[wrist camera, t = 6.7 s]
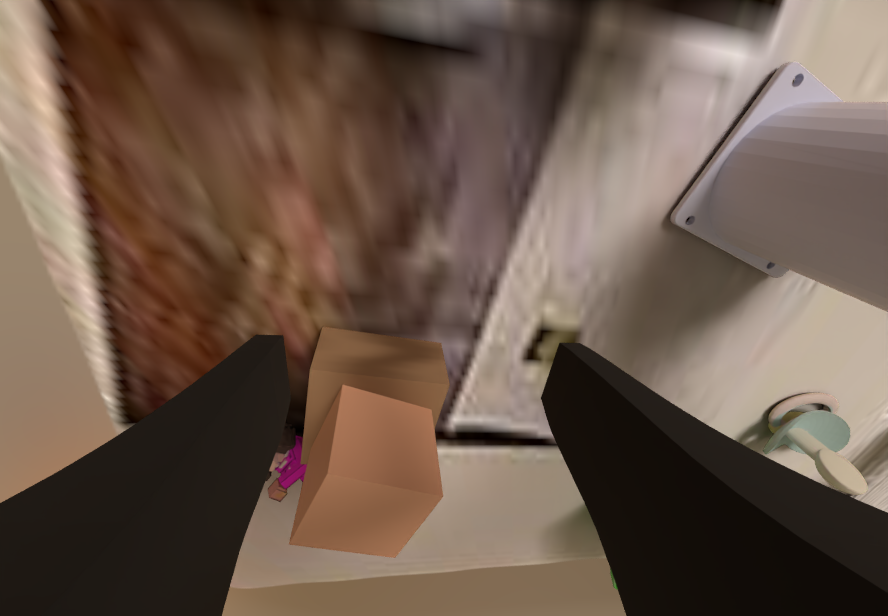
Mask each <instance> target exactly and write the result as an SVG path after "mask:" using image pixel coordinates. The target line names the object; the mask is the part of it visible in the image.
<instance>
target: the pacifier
mask: <svg viewBox="0 0 888 616" xmlns="http://www.w3.org/2000/svg"><path fill="white" fill-rule="evenodd" d="M810 403H820V404H823V405H824V407H823V410H813V411H809V412H806V413H802V412H789V411H790V410H792V409H794V408H796V407H798V406H802V405H805V404H810ZM838 408H839V404H838V401H837V400H836V399H835V398H834V397H833V396H831V395H828V394H824V393H807V394H801V395H797V396H794V397H791V398H789V399H787V400H784V401H783V402H781V403H780V404H778V405H777V406H776V407H775V408H774V409H773V410H772V411H771V413H770V414H769V418H768V420H769V425H768V427H769V429H770V430H771V431H772V432H773V433H774V435H773V436H772V437H771V438H770V440H769V441H768V443H767V444H766V446H765V448H764V450H763V452H764V453H765V454H768V453H770V452H771V451H773V450H775V449H776V448H778V447H780V446H781V445H784V444H785V445H787V446H788V447H789V448H790V449H792V450H794V451H796V452H799V453H803V454H807V455H809V456H810V457H811V458H812V459H813V460H815V465H816V468H817V470H818V472H819V473H820V475H821V476H822V477H823V478H824V479H825V480H826V481H827V482H828V483H829V484H830V485H832V486H833V487H835V488H836V489H838V490H840V491H842V492H845V493H848V494H854V495H860V494H864V493H866V492H867V490H868V486H867V483H866V481H865V479H864V477H863V476H862V475H861V473H860V472H859V471H858V470H857V469H856V468H855V467H854V466H853V465H852V464H851V463H850V462H849V461H848V460H847V459H845V458H844V457H843V456H841V455H840V454H838V453H836V452H837V451H840V450H841V449H843V448H844V447H845V446H846V445H847V443H848V442H849V438H850V428H849V426H848V425H847V423H846V422H845V421H844V420H843V419H841V418H840V417H839V416H837V415H835V414H836V412H837V411H838ZM787 412H788V413H787Z"/></svg>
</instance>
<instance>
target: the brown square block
mask: <svg viewBox="0 0 888 616" xmlns="http://www.w3.org/2000/svg"><path fill="white" fill-rule="evenodd" d="M342 385H346V386H350V387H353V388H357V389H360V390H364V391H367V392H371V393H375V394H378V395H382V396H385V397H389V398H392V399H396V400H399V401H403V402H406V403H410V404H413V405H417V406H421V407H424V408H428V409H431V410H432V416H433V424H434V429H435V426H436V423H437V420H438V417H439V414H440V411H441V408H442V405H443V403H444V400H445V397H446V394H447V391H448V388H449V385H450V384H449V379H448V375H447V370H446V365H445V360H444V355H443V350H442V345H441V343H436V342H429V341H422V340H415V339H408V338H400V337H393V336H386V335H379V334H372V333H364V332H357V331H350V330H343V329H336V328H328V327H322V330H321V334H320V337H319V340H318V344H317V347H316V351H315V354H314V357H313V361H312V364H311V368H310V374H309V384H308V394H307V404H306V414H305V424H304V434H303V443H302V453H301V463H300V464H307V463H308V459H309V454H310V450H311V447H312V445H313V443H314V441H315V439H316V437H317V435H318V433H319V431H320V429H321V427H322V425H323V423H324V421H325V419H326V417H327V415H328V413H329V411H330V409H331V407H332V405H333V403H334V401H335V399H336V397H337V395H338V393H339V391H340V389H341V387H342Z"/></svg>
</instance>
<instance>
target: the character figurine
mask: <svg viewBox="0 0 888 616" xmlns="http://www.w3.org/2000/svg"><path fill="white" fill-rule="evenodd" d="M302 443H303V437H300V436H297V435H296V428H292V424H288V423H285V426H284V430H283V434H282V437H281V440H280V443H279V446H278V448H277V451H276V454H275V456H274V459H273V462H272V464H271V467H270V470H269V472H268V475H267V478H266V480H265V481H267V480H268V479H269V478H270V476H271V471H273V470H274V468H275V470H277V471H278V472H279V473H281V476H280V477H279V478H277V479H276V480H275V481H274V482H273V483H272V485H271V486H270V487H269V488H268V492H269V498H271V499H274V500H277V501H279V502H281V500H282V499H283V498H284V497H285V496H286V495H287V488H288V487H290V486H291V485H292V484H293V483H294V482H296V481H297V480H298V479H299V478H300V479H301V481H302V482H303V481H304V476H305V472H306V468H307V464H300V463H301V453H302ZM302 484H303V483H302Z"/></svg>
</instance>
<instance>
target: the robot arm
mask: <svg viewBox="0 0 888 616" xmlns="http://www.w3.org/2000/svg"><path fill="white" fill-rule="evenodd" d="M794 77H795V81H794V83H793V84H792V81H793V79H794ZM689 216H690V218H689V220H688V221H687V222H686V219H687V218H688V217H689ZM670 219H671V222H672V223H673V224H675V225H677V226H679V227H680V228H682V229H684V230H686V231H688V232H690V233H692V234H694V235H695V236H697V237H699V238H701V239H703V240H705V241H707V242H708V243H710V244H712V245H714V246H716V247H718V248H720V249H721V250H723V251H725V252H727V253H729V254H731V255H733V256H735V257H736V258H738V259H740V260H742V261H744V262H746V263H748V264H749V265H751V266H753V267H755V268H757V269H759V270H761V271H762V272H764V273H766V274H768V275H770V276H772V277H775V278H778V277H781V276H783V275H784V274H785V273H786V272H787V271H788V270H791V271H794V272H796V273H798V274H801V275H803V276H805V277H808V278H810V279H812V280H815V281H817V282H819V283H822V284H824V285H826V286H829V287H831V288H833V289H836V290H838V291H840V292H843V293H845V294H847V295H850V296H852V297H854V298H857V299H859V300H861V301H864V302H866V303H868V304H871V305H873V306H875V307H878V308H880V309H882V310H885V311H887V312H888V102H844V101H843V100H841V99H840V98H839V97H838V96H837V95H836V94H835V93H833V92H832V91H831V90H830V89H829V88H828V87H826V86H825V85H824V84H823V83H822V82H821V81H820V80H818V79H817V78H816V77H815V76H814V75H813V74H812V73H810V72H809V71H808V70H807V69H806V68H805V67H804V66H802V65H801V64H800V63H798V62H788V63H785V64H783V65H782V66H780V68H779V69H778V70H777V71H776V72H775V74H774V75H773V76H772V78H771V79H770V81H769V82H768V83H767V85H766V86H765V87H764V89H763V90H762V91H761V93H760V94H759V95H758V97H757V98H756V100H755V101H754V102H753V104H752V105H751V106H750V108H749V109H748V110H747V112H746V113H745V114H744V116H743V117H742V118H741V120H740V121H739V123H738V124H737V125H736V127H735V128H734V129H733V131H732V132H731V133H730V135H729V136H728V137H727V139H726V140H725V142H724V143H723V144H722V146H721V147H720V148H719V150H718V151H717V152H716V154H715V155H714V156H713V158H712V159H711V161H710V162H709V163H708V165H707V166H706V167H705V169H704V170H703V171H702V173H701V174H700V175H699V177H698V178H697V180H696V181H695V182H694V184H693V185H692V186H691V188H690V189H689V190H688V192H687V193H686V194H685V196H684V197H683V199H682V200H681V201H680V203H679V204H678V205H677V207H676V208H675V209H674V211H673V212H672V214H671V218H670ZM290 400H291V395H290V387H289V379H288V371H287V362H286V354H285V346H284V338H283V335H255V336H254V337H253V338H251V339H250V340H249V341H247V342H246V343H245V344H243V345H242V346H241V347H240V348H238V349H237V350H236V351H235V352H233V353H232V354H231V355H229V356H228V357H227V358H226V359H224V360H223V361H222V362H221V363H219V364H218V365H217V366H215V367H214V368H213V369H211V370H210V371H209V372H208V373H206V374H205V375H204V376H202V377H201V378H200V379H198V380H197V381H196V382H194V383H193V384H192V385H190V386H189V387H188V388H186V389H185V390H184V391H182V392H181V393H179V394H178V395H177V396H175V397H174V398H172V399H171V400H169V401H168V402H166V403H165V404H164V405H162V406H161V407H159V408H158V409H156V410H155V411H154V412H152V413H151V414H149V415H148V416H146V417H145V418H144V419H142V420H141V421H139V422H138V423H136V424H135V425H133V426H132V427H130V428H129V429H127V430H126V431H124V432H123V433H121V434H119V435H118V436H116V437H115V438H113V439H112V440H110V441H108V442H107V443H105V444H104V445H102V446H100V447H99V448H97V449H95V450H94V451H92V452H90V453H89V454H87V455H85V456H84V457H82V458H81V459H79V460H77V461H75V462H74V463H72V464H70V465H69V466H67V467H65V468H63V469H62V470H60V471H58V472H57V473H55V474H53V475H52V476H50V477H48V478H46V479H44V480H42V481H40V482H38V483H37V484H35V485H33V486H31V487H29V488H27V489H26V490H24V491H22V492H20V493H18V494H16V495H14V496H13V497H11V498H9V499H7V500H5V501H3V502H2V503H0V616H222V612H223V608H224V605H225V601H226V597H227V594H228V591H229V587H230V583H231V580H232V576H233V573H234V569H235V565H236V562H237V558H238V555H239V551H240V548H241V545H242V542H243V539H244V536H245V533H246V530H247V528H248V525H249V522H250V520H251V517H252V515H253V512H254V509H255V507H256V504H257V501H258V499H259V496H260V493H261V491H262V488H263V486H264V483H265V480H266V478H267V475H268V472H269V470H270V467H271V464H272V462H273V459H274V456H275V454H276V451H277V448H278V446H279V443H280V440H281V437H282V434H283V430H284V426H285V422H286V418H287V413H288V409H289V405H290ZM541 400H542V403H543V406H544V410H545V413H546V417H547V420H548V423H549V426H550V429H551V432H552V434H553V436H554V438H555V441H556V443H557V445H558V447H559V449H560V451H561V454H562V456H563V458H564V460H565V462H566V464H567V466H568V468H569V471H570V473H571V475H572V477H573V479H574V481H575V483H576V485H577V487H578V490H579V492H580V494H581V496H582V498H583V500H584V502H585V504H586V506H587V509H588V511H589V513H590V515H591V518H592V520H593V522H594V525H595V527H596V530H597V532H598V535H599V538H600V540H601V543H602V546H603V549H604V551H605V554H606V557H607V560H608V562H609V565H610V568H611V571H612V574H613V577H614V580H615V583H616V586H617V589H618V591H619V595H620V597H621V600H622V604H623V607H624V610H625V612H626V615H627V616H888V513H887V512H885V511H882V510H880V509H877V508H875V507H873V506H870V505H868V504H866V503H863V502H861V501H858V500H856V499H854V498H852V497H849V496H847V495H845V494H843V493H840V492H838V491H836V490H834V489H831V488H829V487H827V486H825V485H822V484H820V483H818V482H816V481H814V480H812V479H810V478H808V477H806V476H804V475H802V474H799V473H797V472H795V471H793V470H791V469H789V468H787V467H785V466H783V465H781V464H779V463H777V462H775V461H773V460H771V459H769V458H767V457H765V456H763V455H761V454H759V453H757V452H755V451H753V450H751V449H749V448H748V447H746V446H744V445H742V444H740V443H738V442H737V441H735V440H733V439H731V438H729V437H727V436H726V435H724V434H722V433H720V432H718V431H717V430H715V429H713V428H711V427H710V426H708V425H706V424H705V423H703V422H701V421H700V420H698V419H696V418H695V417H693V416H691V415H690V414H688V413H687V412H685V411H683V410H682V409H680V408H679V407H677V406H675V405H674V404H672V403H671V402H669V401H667V400H666V399H664V398H663V397H661V396H660V395H658V394H657V393H655V392H654V391H652V390H651V389H649V388H648V387H646V386H645V385H643V384H642V383H640V382H639V381H637V380H636V379H634V378H633V377H631V376H630V375H628V374H627V373H626V372H624V371H623V370H621V369H620V368H618V367H617V366H615V365H614V364H612V363H611V362H609V361H608V360H606V359H605V358H603V357H602V356H600V355H599V354H597V353H596V352H594V351H593V350H591V349H589V348H588V347H586V346H584V345H582V344H580V343H559V346H558V349H557V352H556V355H555V358H554V361H553V364H552V367H551V370H550V373H549V376H548V379H547V382H546V385H545V388H544V391H543V394H542V397H541Z"/></svg>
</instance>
